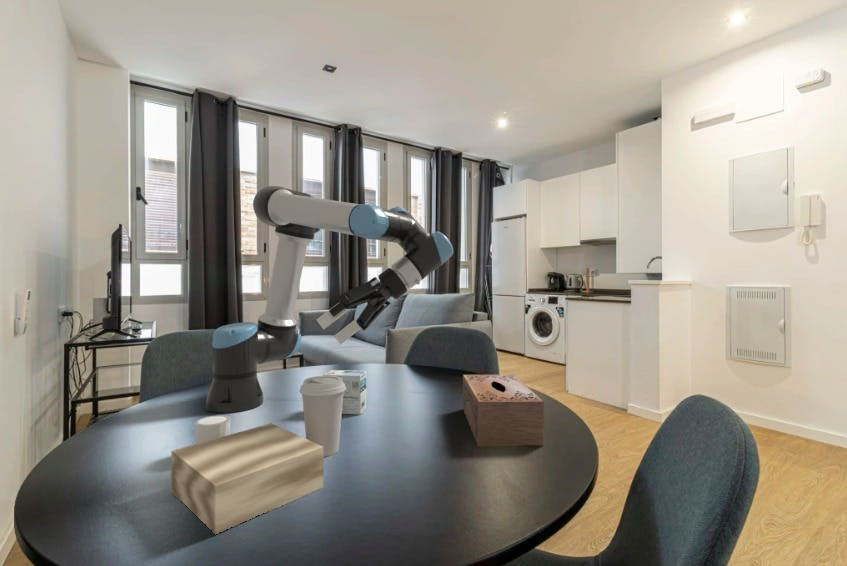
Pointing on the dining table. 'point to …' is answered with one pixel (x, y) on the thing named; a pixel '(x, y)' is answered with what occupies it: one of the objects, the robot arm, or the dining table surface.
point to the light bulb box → (352, 390)
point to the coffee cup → (323, 411)
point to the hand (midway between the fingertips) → (329, 333)
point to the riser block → (245, 474)
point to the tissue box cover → (502, 411)
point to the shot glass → (211, 428)
